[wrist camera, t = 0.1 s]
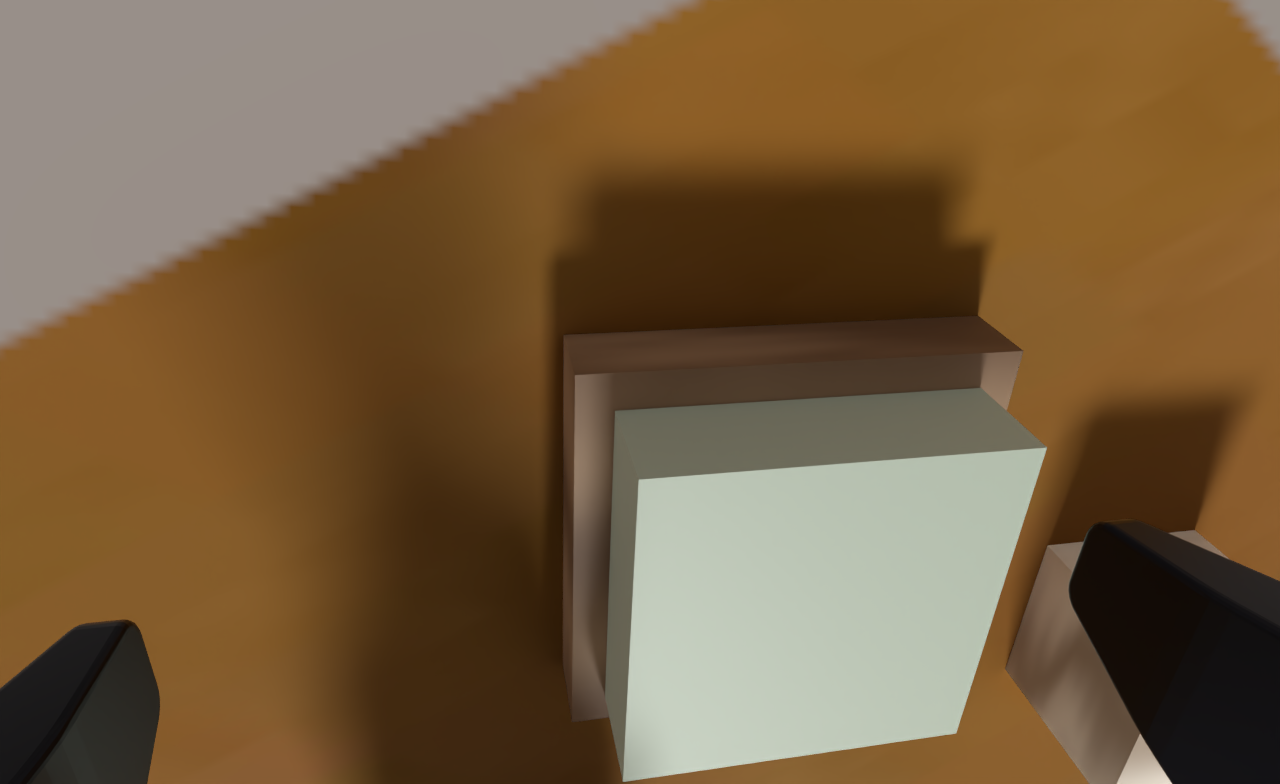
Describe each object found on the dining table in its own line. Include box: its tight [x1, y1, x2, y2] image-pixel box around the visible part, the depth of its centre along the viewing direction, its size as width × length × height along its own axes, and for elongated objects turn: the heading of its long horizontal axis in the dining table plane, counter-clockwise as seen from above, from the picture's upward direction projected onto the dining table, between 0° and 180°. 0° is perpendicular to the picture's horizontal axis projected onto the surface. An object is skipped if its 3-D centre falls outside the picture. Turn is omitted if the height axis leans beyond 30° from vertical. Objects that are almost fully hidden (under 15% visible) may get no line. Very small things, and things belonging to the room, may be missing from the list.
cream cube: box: [1006, 530, 1229, 784], centre depth 30 cm, size 6×6×6 cm
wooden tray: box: [563, 316, 1023, 722], centre depth 26 cm, size 12×12×3 cm
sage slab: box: [605, 388, 1047, 782], centre depth 24 cm, size 10×10×3 cm
